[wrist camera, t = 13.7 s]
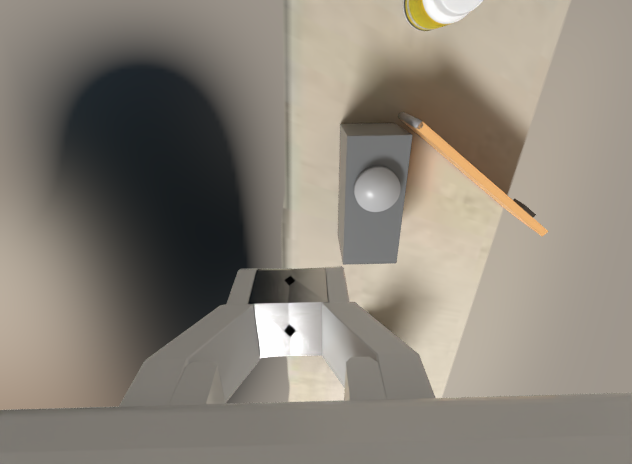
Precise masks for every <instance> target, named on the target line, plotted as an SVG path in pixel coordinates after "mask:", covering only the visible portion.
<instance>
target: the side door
mask: <svg viewBox="0 0 632 464" xmlns="http://www.w3.org/2000/svg"><path fill="white" fill-rule="evenodd" d="M398 117H399V119H400V120H401V121H403V122H404V123H405V124H406V125H407V126H408V127H410V128H411V129H412V130H413V131H414V132H416V133H417V134H418V135H419V136H420V137H421V138H423V139H424V140H425V141H426V142H427V143H428V144H430V145H431V146H432V147H433V148H434V149H436V150H437V151H438V152H439V153H440V154H441V155H443V156H444V157H445V158H446V159H447V160H448V161H450V162H451V163H452V164H453V165H454V166H456V167H457V168H458V169H459V170H460V171H461V172H463V173H464V174H465V175H466V176H467V177H468V178H470V179H471V180H472V181H473V182H474V183H476V184H477V185H478V186H479V187H480V188H481V189H483V190H484V191H485V192H486V193H487V194H488V195H490V196H491V197H492V198H493V199H494V200H495V201H497V202H498V203H499V204H500V205H501V206H503V207H504V208H505V209H506V210H507V211H508V212H510V213H511V214H512V215H513V216H515V217H516V218H517V219H519V220H520V221H522V222H523V223H524V224H526V225H527V226H528V227H530V228H531V229H533V230H534V231H535V232H537V233H538V234H539V235H541V236H544V235H545V234H546V233H547V232H548V231H547V230H546V229H545V228H544V227H543V226H542V225H541V224H539V223H538V222H537V221H536V220H535V219H533V217H534V216H535V215H536V214H534V213H533V212H532V211H531V210H530V209H529V208H528V207H526V206H525V205H524V204H522V203H521V202H519V201H518V200H516V199H514V200H512V199H511V198H510V197H508V196H507V195H506V194H505V193H504V192H503V191H502V190H500V189H499V188H498V187H497V186H496V185H495V184H494V183H492V182H491V181H490V180H489V179H488V178H487V177H486V176H484V175H483V174H482V173H481V172H480V171H479V170H478V169H476V168H475V167H474V166H473V165H472V164H471V163H470V162H468V161H467V160H466V159H465V158H464V157H463V156H461V155H460V154H459V153H458V152H457V151H456V150H455V149H453V148H452V147H451V146H450V145H449V144H448V143H447V142H445V141H444V140H443V139H442V138H441V137H440V136H439V135H437V134H436V133H435V132H434V131H433V130H432V129H431V128H429V127H428V126H427V125H426V124H425V123H424V122H423V121H421V120H419V119H417V118H415V117H413V116H411V115H409V114H407V113H405V112H400V113H399V115H398Z"/></svg>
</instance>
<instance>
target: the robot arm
mask: <svg viewBox="0 0 632 464" xmlns="http://www.w3.org/2000/svg"><path fill="white" fill-rule="evenodd" d="M276 356H323V358H324V360H325V361H326V363H327V364H328V365H329V367H330V368H331V370H332V371H333V372H334V374H335V375H336V377H337V378H338V379H339V381H340V382H341V384H342V385H343V386H344V388H345V393H344V401H309V402H278V403H277V402H275V403H274V402H273V403H238V404H226V402H227V401H228V399H229V398H230V397H231V396H232V394H233V393H234V392H235V391H236V389H237V388H238V387H239V386H240V384H241V383H242V382H243V380H244V379H245V378H246V377H247V375H248V374H249V373H250V372H251V370H252V369H253V368H254V367H255V365H256V364H257V363H258V362H259V360H260V357H276ZM0 464H632V393H607V394H605V393H604V394H568V395H534V396H533V395H532V396H497V397H462V398H435V395H434V393H433V390H432V387H431V385H430V382H429V380H428V377H427V374H426V372H425V369H424V367H423V364H422V361H421V359H420V356H419V354H418V353H417V352H415V351H414V350H413V349H412V348H410V347H409V346H408V345H407V344H406V343H404V342H403V341H402V340H401V339H399V338H398V337H397V336H396V335H395V334H393V333H392V332H391V331H390V330H388V329H387V328H386V327H385V326H383V325H382V324H381V323H380V322H379V321H377V320H376V319H375V318H374V317H372V316H371V315H370V314H369V313H368V312H366V311H365V310H364V309H363V308H361V307H360V306H359V305H358V304H357V303H355V302H349V296H348V291H347V285H346V279H345V274H344V268H343V267H342V266H341V267H325V268H304V269H240V270H239V271H238V273H237V276H236V278H235V281H234V284H233V287H232V290H231V293H230V296H229V299H228V302H227V304H226V305H221V306H219V307H218V308H216V309H215V310H214V311H212V312H211V313H210V314H208V315H207V316H205V317H204V318H203V319H201V320H200V321H199V322H197V323H196V324H195V325H193V326H192V327H190V328H189V329H188V330H186V331H185V332H184V333H182V334H181V335H179V336H178V337H177V338H176V339H174V340H172V341H171V342H170V343H168V344H167V345H166V346H164V347H163V348H161V349H160V350H159V351H157V352H156V353H155V354H154V355H152V356H150V357H149V358H148V359H146V360H145V361H144V363H143V365H142V367H141V368H140V370H139V372H138V374H137V375H136V377H135V379H134V381H133V382H132V384H131V386H130V388H129V390H128V391H127V393H126V395H125V397H124V399H123V400H122V402H121V404H120V405H119V407H92V408H55V409H20V410H19V409H18V410H0Z"/></svg>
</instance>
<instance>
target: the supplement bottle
mask: <svg viewBox="0 0 632 464" xmlns="http://www.w3.org/2000/svg"><path fill="white" fill-rule="evenodd" d="M482 2H483V0H403V12H404V16H405V18H406V20H407V22H408V23H409V24H410V26H412V27H413V28H415V29H417V30H420V31H430V30H433V29H436V28H439V27H443V26H446V25H449V24H452V23H455V22H457V21H459V20H461V19H462V18H464V17H465V16H466V15H468V14H469V13H470V11H472V10H474V9H475V8H476V7H478V6H479V5H480V4H481V3H482Z"/></svg>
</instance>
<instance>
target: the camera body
mask: <svg viewBox="0 0 632 464" xmlns="http://www.w3.org/2000/svg"><path fill="white" fill-rule="evenodd" d="M411 143H412V134H410V133H409V132H407V131H406V130H404V129H403V128H401V127H400V126H398V125H397V124H395V123H357V124H340V162H339V206H338V239H339V244H340V250H341V256H342V262H343V264H386V263H396V262H397V254H398V246H399V238H400V230H401V222H402V214H403V206H404V198H405V190H406V182H407V175H408V167H409V159H410V151H411Z"/></svg>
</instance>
